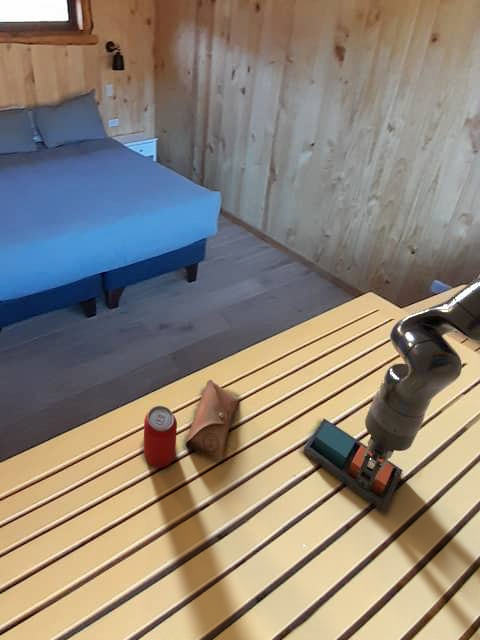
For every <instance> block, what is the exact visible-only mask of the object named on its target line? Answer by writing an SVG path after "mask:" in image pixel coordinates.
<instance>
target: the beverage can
mask: <svg viewBox="0 0 480 640" xmlns="http://www.w3.org/2000/svg"><path fill="white" fill-rule="evenodd" d="M177 429H178V422H177V418H176V417H175V415H174V413H173V411H171V409H170V408H168V407H166V406H163V405H157V406H153V407H152V408H151V409H149V411H148V412H146V415H145V416H144V420H143V454H144V457H145V459H146V461H147V462H148V464H150V465H151V466H153V467H157V468H165V467H167V466H170V464H171V463H173V461H174V459H175V456H176V446H177V431H178V430H177Z"/></svg>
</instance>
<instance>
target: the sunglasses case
mask: <svg viewBox="0 0 480 640" xmlns="http://www.w3.org/2000/svg"><path fill="white" fill-rule="evenodd" d="M238 403H239V398H238V397H235V396H233V394H230V393H229V392H228V391H226V390H225V389H224V388H223V387H221V386H219V385H218V384H216V383H215V382H214V381H213V380H212V379H209V380H207V381H206V384H205V386H204V389H203V391H202V394H201V397H200V399H199V402H198V406H197V408H196V411H195V413H194V417H193V420H192V422H191V425H190V428H189V431H188V435H187V438H186V441H185V447H186V449H188V448H189V449H190V450H193V451H195V452H198V453H201V454H203V455H206V456H209V457H211V458H216V459H222V458H224V454H225V450H226V445H227V444H226V443H227V439H228V436H229V431H230V427H231V424H232V420H233V417H234V414H235V411H236V408H237V405H238Z"/></svg>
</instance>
